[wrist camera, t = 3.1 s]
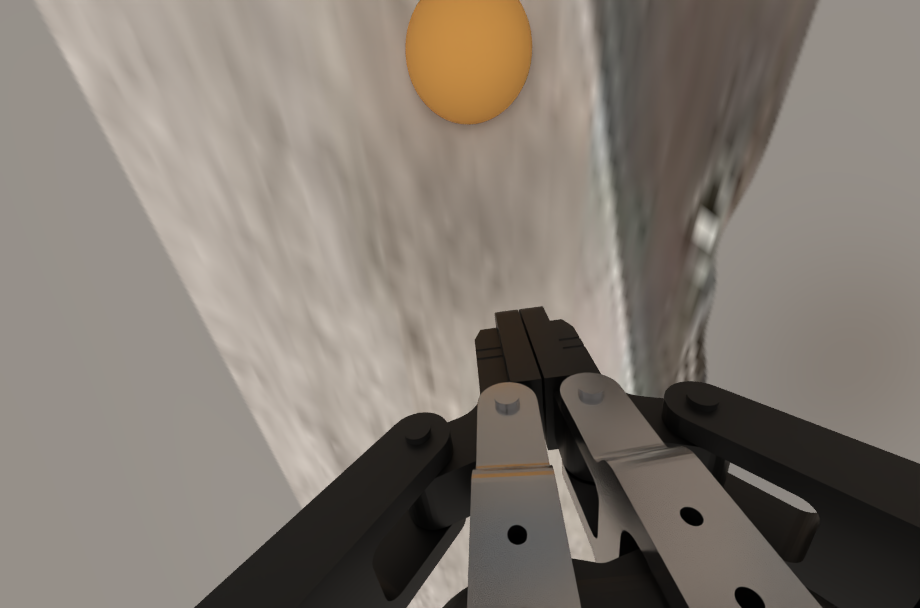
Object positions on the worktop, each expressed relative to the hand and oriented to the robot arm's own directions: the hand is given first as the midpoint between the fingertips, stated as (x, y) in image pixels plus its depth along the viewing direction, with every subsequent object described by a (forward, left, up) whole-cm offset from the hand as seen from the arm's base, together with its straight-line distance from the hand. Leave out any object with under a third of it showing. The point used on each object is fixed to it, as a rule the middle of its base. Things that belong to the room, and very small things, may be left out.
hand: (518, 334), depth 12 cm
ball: (-9, 0, -11) cm, 14 cm away
